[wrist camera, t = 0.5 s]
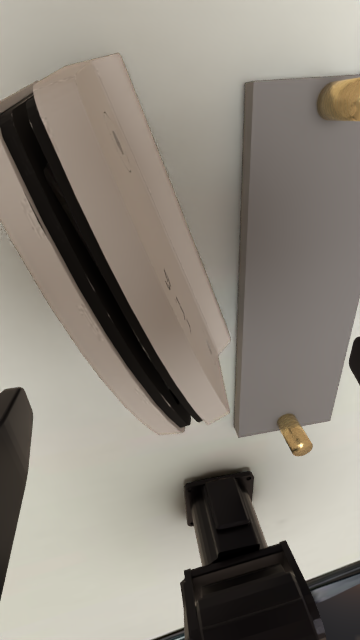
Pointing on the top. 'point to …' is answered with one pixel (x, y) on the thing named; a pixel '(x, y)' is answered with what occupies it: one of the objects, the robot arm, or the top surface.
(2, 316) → the top surface
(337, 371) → the plate
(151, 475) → the top surface
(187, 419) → the curved beige panel
